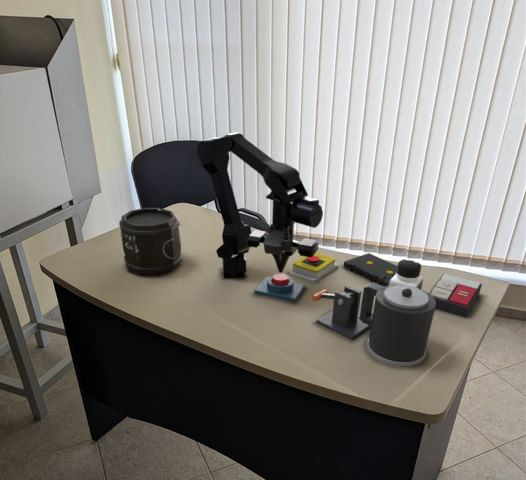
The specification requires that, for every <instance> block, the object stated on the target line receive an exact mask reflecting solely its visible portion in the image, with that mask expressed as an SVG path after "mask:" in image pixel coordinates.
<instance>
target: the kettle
mask: <svg viewBox="0 0 526 480" xmlns="http://www.w3.org/2000/svg"><path fill="white" fill-rule="evenodd" d="M376 283H377V282H376ZM376 283H374V282H372V283H371V282H370V283H368V284H366V285H365V286H363V289H362V290H363V291H362V292H363V293H362V296H361V303H360V310H359V311H360V312H359V317H360V318H359V320H361V321H362V322H363V323H365V324H367V325H369V326H371V327H370V328H369V330H370V331H369V337H368V338H367V341H366V349H367V351H368V353H369V354H370V355H371V356H372V357H373V358H375V359H376V360H377V361H380V362H382V363H385V364H386V365H391V366H395V367H396V366H397V367H411V366H415V365H418V364H420V363H422V362H423V361H424V359H426V355H427V345H428V341H429V337H430V332H431V328H432V324H433V319H434V315H435V311H436V308H435V307H436V300H435V299H434V297H433V296H432V295H431V294H429V293H430V292H428V291H426V290H424V289H422V288H421V289H419V288H416V287H412V286H406V285H390V286H386V287H384V286H382V285H379V284H376Z"/></svg>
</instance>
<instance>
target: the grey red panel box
mask: <svg viewBox="0 0 526 480" xmlns="http://www.w3.org/2000/svg"><path fill="white" fill-rule="evenodd" d="M482 286H483V284H482V283H481V282H478V281H475V280H471V279H466V278H464V277H463V278H462V277H459V276H455V275H452V274H448V273H443V274H442V275H441V276H440V277H439V279H438V280H437V282H436V283H435V284H434V286H433V287H432V289H431V290H430V291H429V292H428V293H429V294H431V295H432V296H433V297H434V299H435V300H436V307H435V309H437V310H439V311H444V312H446V313H450V314H453V315H457V316H461V317H463V318H464V317H465V318H466V317H467V316H468V314H469V312H470V311H471V310H472V307H473V305H474V304H475V302H476V301H477V299H478V298H479V296H480V294H481V291H482V290H481V289H482Z"/></svg>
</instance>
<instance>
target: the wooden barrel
mask: <svg viewBox="0 0 526 480" xmlns="http://www.w3.org/2000/svg"><path fill="white" fill-rule="evenodd" d="M118 226H119V228H120V229H119V230H120V237H121V244H122V250H123V254H124V256H123V259H124V264H125V266H126V268H127V269H128V270H129V272H131V273H134V274H136V275H139V276H142V277H143V276H144V277H146V276H148V277H149V276H150V277H151V276H152V277H153V276H154V277H155V276H157V277H158V276H161V275H165V274H169V273H173V272H174V271H175V270H176V269H177V268H178V267H179V266H180V263H181V262H182V261H183V256H182V241H181V233H180V232H181V231H180V227H179V226H181V222H180V221H179V218H178V217H177V216H176V214H175V213H174V212H173V211H171V210H169V209H165V208H160V207H142V208H137V209H133V210H130V211H128V212H126V213H125V214H122V215H121V219H120V220H119V222H118Z"/></svg>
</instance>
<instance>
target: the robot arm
mask: <svg viewBox="0 0 526 480" xmlns="http://www.w3.org/2000/svg"><path fill="white" fill-rule="evenodd" d="M230 153H232V154H234V155H235V156H236V157H237V158H239V159H240V160H241V161H243V162H244V163H245V164H247V165H248V166H249V167H250V168H251V169H253V170H254V171H255V172H256V173H258V174H259V176H261V177H262V179H263V182H264V184H265V185H266V187H267V188H269V190H270V193H268V194H267V195H266V196H265V199H267V200H271V201H272V214H271V215H272V216H271V217H272V219H271V223H270V226H269V231H268V233H267V231H264V230H257V229H254V230H253V231H252V227H251V225H250V224H245V223H244V222H243V221H242V219H241V216H240V215H241V214H240V213H239V207H238V204H237V200H236V196H235V193H234V190H233V189H234V188H233V185H232V182H231V179H230V178H231V177H230V175H229V170H228V168H229V164H230ZM196 154H197V157H198V160H199V162H200V165H201V166H202V167H203V169H204V170H205V171H206V172H207V173H208V174H209V176H210V180H211V183H212V186H213V190H214V192H215V196H216V200H217V204H218V208H219V211H220V214H221V215H220V216H221V218H222V222H223V228H222V234H221V238H222V244H221V245H219V247H218V248H217V249H216V250H215V251H216V255H217V257H218V258H220V259H221V260H222V267H221V271H222V277H223V279H239V278H241V279H242V278H246V273H247V258H246V257H245V254H247V253H249V252H250V249H251V248H255V249H257V248H258V247H259V246H260V245H261V244H263V249H264V250H263V251H264V253H265V254H266V255H270V254H271V255H272V257H273V260H274V262H275V266H276V268H277V270H278V273H282V274H283V272H284V270H285V268H286V265H287V263H288V261H289V259H290V257H292V256H293V255H294V254H295V253H296V252H297V254H298V255H299V256H300V257H303V256H305V257H313V256H314V254H315V253H318V251H319V242H318V240H317V239H311V238H303V239H302V241H298V240H294V239H295V233H294V229H295V224H296V223H297V224H300V225H303V226H305V227H309V228H313V229H315V228H317V227H318V226H319V225H320V224H321V222H322V219H323V215H324V211H323V207H322V206H321V204H320V199H317V198H310V197H308V196H309V195H308V191H307V189H306V188H305V186H304V184H303V181H302V179H301V177H300V172H299V171H298V170H297V168H295V167H293V166H291V165H289V164H287V163H285V162H281V161H277V160H274V159H273V158H271V157H270V156H269V155H268V154H267V153H265V152H264V151H262V150H261V149H260V148H258V147H257V146H256V145H255V144H253V143H252V142H250V140H248V139H247V138H245V137H244V135H243V134H242V133H240V132H232V133H228V134H226V135H224V136H222V137H220V136H218V137H212V138H208V139H203V140H201V141H199V142H198V144H197V147H196ZM292 191H294V192H292ZM290 192H291V193H290Z"/></svg>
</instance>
